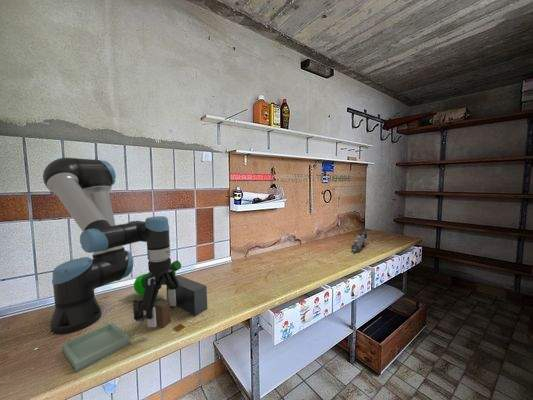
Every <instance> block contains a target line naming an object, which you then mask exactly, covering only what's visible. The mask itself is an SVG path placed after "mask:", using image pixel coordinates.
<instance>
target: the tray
mask: <svg viewBox="0 0 533 400" xmlns="http://www.w3.org/2000/svg"><path fill="white" fill-rule="evenodd" d="M128 345H131V338H130V335H128V334H127V333H126V332H125V331H124V330H122V329H121V328H120V327H119V326H118V325H116V324H115V323H114V322H112V321H111V322H108V323H107V324H104V325H101V326H100V327H97V328H95V329H93V330H91V331H89V332H86V333H84V334H82V335H79V336H78V337H75V338H73V339H71V340H68V341H65V342H64V343H61V352H62V354H63V355H64V357H65V358H66V360H67V361H68V363H69V364H70V366H72V368H73V370H74V372H75V373H78V372H80V371H82V370H84V369H86V368H88V367H90V366H91V365H93V364H95V363H98V362H99V361H101V360H102V359H105V358H107V357H108V356H110V355H112V354H114V353H116V352H118V351H120V350H122V349H123V348H125V347H126V346H128Z"/></svg>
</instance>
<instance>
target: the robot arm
mask: <svg viewBox="0 0 533 400" xmlns="http://www.w3.org/2000/svg"><path fill="white" fill-rule="evenodd" d="M116 176H117V174H116V172H115V169H114V167H113V165H111V163H110V162H108V161H106V160H100V159H97V158H95V159H91V158H77V157H76V158H75V157H59V158H57V159H54V160H53V161H51V162H50V163H48V165H46V167H45V169H44V170H43V174H42V180H43V184H44V185H45V187H46V188H47V189H48V190H49V192H51V193H53V194H55V195H56V197H58V198H57V199H59V200H60V202H61V203H62V205H63V206H64V207H65V209H66V210H67V212H68V213H69V215H70V216H71V217H72V219H73V220H74V221H75V223H76V225H77V226H78V227H79V228H80V230H81V231H82V232H81V233H80V235H79V236H80V237H79V243H80V246H81V249H82V250H83V251H84V252H85V253H90V254H91V253H92V254H91V255H92V258H91V257H89V256H84V257H79V258H74V259H69V260H68V261H65V262H62V263H61V264H58V265H57V266H56V267H55V268H54V269H53V271H52V280H51V283H52V287H53V297H54V310H53V314H52V317H51V320H50V323H49V326H50V332H51V333H52V334H54V335H55V334H56V335H65V334H69V333H70V334H71V333H73V332H77V331H80V330H83V329H85V328H88V327H89V326H91V325H93V324H95V323H96V322H97V321H99V320H100V319H101V317H102V307H101V306H100V304H99V303H98V300H97V299H96V297H95V290H96V289H98V288H101V287H104V286H106V285H108V284H112V283H114V282H116V281H120V280H122V279H124V278H126V277H128V276H129V275H131V273H132V271H133V269H134V257H133V255H132V253H131V252H130V251H128V250H126V249H125V247H124V246H126V245H131V244H134V243H138V242H139V243H140V242H143V243H146V251H147V253H146V254H147V260H148V261H147V265H148V266H147V267H148V273H149V272H151V273H152V278H150V279H146V287H145V292H144V295H143V297H142V299H143V301H142V306H141V310H143V311H146V316H147V318H146V321H147V328H156V327H157V326H156V312H155V307H154V304H155V301H156V299H158V298H157V297H158V293H159V291H160V289H161V288H162V286H164V285H163V283H165V284H166V285H167V286H168V287H169V290H168V299H169V302H170V306H175V307H177V306H176V292H175V289H178V286H176V285H178V281H177V278H176V276H177V275H175V273H174V270H173V266H171V264H172V259H171V245H170V244H171V243H170V240H171V239H170V226H169V219H168V217H167V216H164V215H163V216H162V215H161V216H157V215H156V216H150V217H146V218H145V221H143V220H132V221H128V222H127V223H122V224H116V222H115V216H114V212H113V206H112V201H111V197H110V196H111V195H110V192H111V190H113V189H112V188H113V187H112V186H114V184H115V182H116V178H117V177H116ZM154 284H155V285H156V286H154ZM166 285H165V286H166Z"/></svg>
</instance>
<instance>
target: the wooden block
mask: <svg viewBox="0 0 533 400" xmlns="http://www.w3.org/2000/svg"><path fill="white" fill-rule="evenodd" d="M154 307H155V312H156V327H160V328H165V327H166V326H168V325H169V324H170V323H171V322H172V315H171V314H172V313H171V309H170V302H168V301H167V300H165V299H164V300H162V301H160V302H158V303H157V304H155V305H154Z"/></svg>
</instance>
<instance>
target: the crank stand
mask: <svg viewBox="0 0 533 400" xmlns="http://www.w3.org/2000/svg"><path fill="white" fill-rule="evenodd" d="M175 276H176V278H177V281H178V285H176V286H178V289H175V292H176V306H170V310H171V309H173V308H175V307H176V308H179V309H181V310H182V311H184V312H186V313H188V314H191V315H192V316H194V317H196V316H198V315H201V314H202V313H203V312H206V311H207V310H208V291H207V290H208V289H207V285H206V284H203V283H200V282H197V281H195V280H192V279H189V278H188V277H185V276H184V277H183V276H182V275H175ZM165 286H166V301H168V302H169V299H168V290H169V287H168V286H167V285H165ZM185 328H186V325H183V324H182V323H179V324H177V325H176V326H174V327H172V330H174V331H176V332H180V331H182V330H183V329H185Z"/></svg>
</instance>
